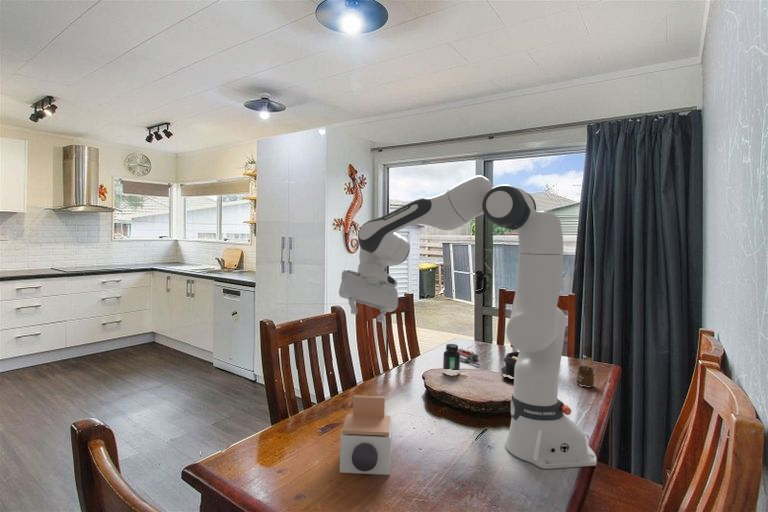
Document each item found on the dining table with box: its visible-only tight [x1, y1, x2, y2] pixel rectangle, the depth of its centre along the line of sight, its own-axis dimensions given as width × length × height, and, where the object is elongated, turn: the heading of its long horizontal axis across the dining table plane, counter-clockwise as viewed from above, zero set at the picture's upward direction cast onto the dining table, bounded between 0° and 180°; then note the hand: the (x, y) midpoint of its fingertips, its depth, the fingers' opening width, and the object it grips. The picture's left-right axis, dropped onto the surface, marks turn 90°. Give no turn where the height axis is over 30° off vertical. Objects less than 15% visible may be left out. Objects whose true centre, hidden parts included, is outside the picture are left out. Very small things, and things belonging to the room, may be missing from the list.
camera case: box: [339, 418, 393, 476], centre depth 103 cm, size 12×12×9 cm
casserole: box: [501, 351, 519, 377], centre depth 171 cm, size 25×19×8 cm
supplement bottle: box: [442, 343, 461, 370], centre depth 172 cm, size 7×7×12 cm
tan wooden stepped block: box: [341, 394, 392, 436], centre depth 103 cm, size 11×9×6 cm
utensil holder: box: [576, 356, 595, 386], centre depth 161 cm, size 6×6×12 cm
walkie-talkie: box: [458, 348, 480, 366], centre depth 192 cm, size 9×4×20 cm
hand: (367, 317), depth 128 cm, fingers open, 8 cm apart
